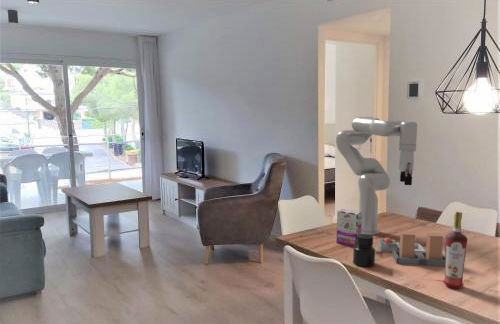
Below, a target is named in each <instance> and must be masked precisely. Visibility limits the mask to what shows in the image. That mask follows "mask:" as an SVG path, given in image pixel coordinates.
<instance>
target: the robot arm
mask: <svg viewBox="0 0 500 324" xmlns="http://www.w3.org/2000/svg"><path fill="white" fill-rule="evenodd" d="M373 135H374V136H380V137H399V144H398V151H399V152H400V153H399V160H398V161H399V162H398V170H399V182H401V183H404V184H403V185H405V186H412V184H413V171H414V166H415V165H414V160H415V155H414V153H415V152H417V139H418V137H417V136H418V123H417V122H415V121H405V120H404V121H403V120H381V119H380V118H377V117H373V116H358V117H356V118H354V119H353V120H352V122H351V129H346V130H345V129H344V130H341V131H339V132H337V134H336V137H335V144H336V147H337V150H338V152H339V153H340V154H341V155H342V157H343V158H344V159H345V161H346V162H347V164H348V167H350V169H351V171H352V172H353V174H354V175H356V176H358V177H359V178H358V182H357V183H358V184H357V185H358V190H359V191H358V193H359V205H358V206H359V210H358V212H361V213H362V234H368V235H371V236H374V235H378V234H380V232H381V231H380V229H379V228H378V209H379V198H378V195H377V191H385V190H387V189H388V188H390V186H391V179H390V177H389V174H388V173H387V172H386V170H385V168H384V167H383V165H382V164H381V163H380V162H379V160H377V158H374V157H364V156H363V155H362V154H361V152H360V151H359V149H357V148H356V147H354V146H357V145H358V146H360V145H363V144H366V142H367V141H368V140H369V139H370V138H371V137H372V136H373Z"/></svg>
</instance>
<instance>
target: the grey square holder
mask: <svg viewBox="0 0 500 324" xmlns="http://www.w3.org/2000/svg"><path fill="white" fill-rule="evenodd" d="M384 240H385V238H378V250H379V252H380V254H382V252H388V253H390V252H391V253H392V251H398V250H397V243H398V242H396V240H395V239H393V238H391V243H384Z"/></svg>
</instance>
